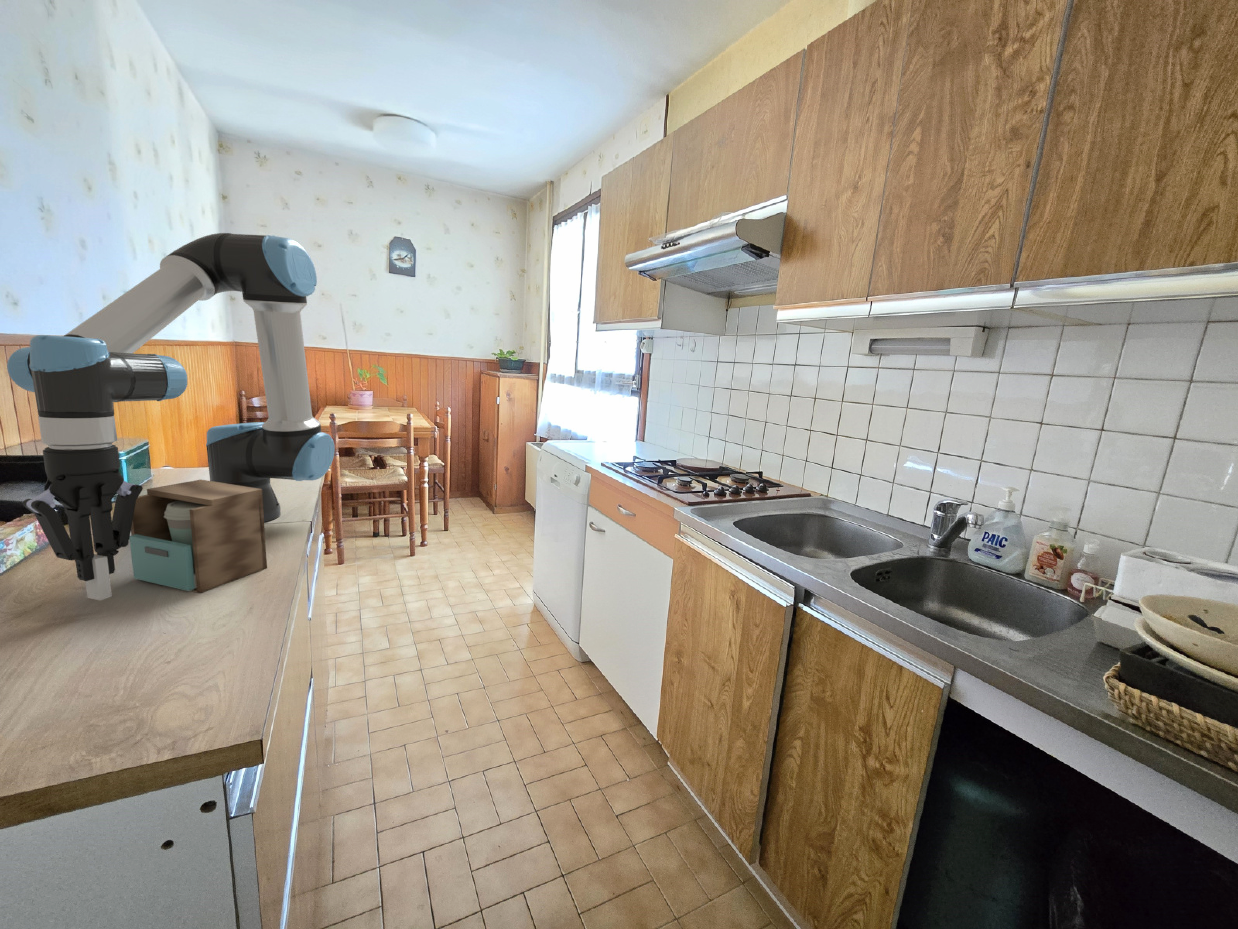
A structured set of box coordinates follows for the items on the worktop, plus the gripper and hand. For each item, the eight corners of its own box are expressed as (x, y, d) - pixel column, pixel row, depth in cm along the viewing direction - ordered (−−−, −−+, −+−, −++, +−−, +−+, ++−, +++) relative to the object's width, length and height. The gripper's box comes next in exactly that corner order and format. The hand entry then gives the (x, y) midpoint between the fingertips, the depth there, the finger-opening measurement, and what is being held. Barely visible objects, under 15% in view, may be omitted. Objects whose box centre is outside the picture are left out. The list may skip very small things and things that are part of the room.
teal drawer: (207, 555, 98) (204, 517, 97) (258, 565, 95) (255, 526, 94) (132, 579, 87) (127, 536, 85) (187, 591, 84) (182, 547, 82)
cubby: (207, 555, 100) (200, 479, 97) (267, 568, 96) (261, 489, 93) (136, 578, 88) (126, 492, 85) (200, 593, 84) (192, 504, 82)
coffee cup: (242, 561, 94) (237, 499, 92) (196, 579, 86) (190, 511, 84) (205, 555, 96) (199, 494, 94) (156, 572, 88) (149, 505, 86)
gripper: (117, 438, 80) (132, 577, 84) (-1, 447, 68) (24, 610, 72) (151, 442, 78) (165, 585, 82) (37, 453, 66) (60, 620, 70)
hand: (99, 596), depth 77 cm, fingers closed
